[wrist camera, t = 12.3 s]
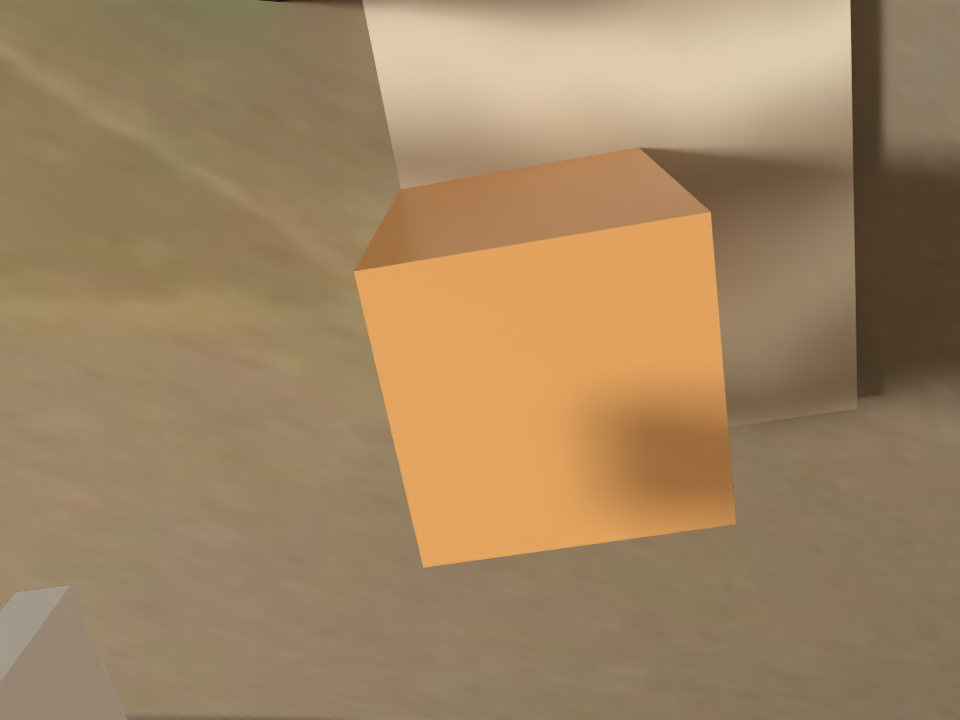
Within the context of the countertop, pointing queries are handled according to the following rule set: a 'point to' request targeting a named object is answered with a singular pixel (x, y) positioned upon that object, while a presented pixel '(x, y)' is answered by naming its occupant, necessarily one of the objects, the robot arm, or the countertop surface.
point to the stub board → (665, 146)
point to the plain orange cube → (551, 357)
